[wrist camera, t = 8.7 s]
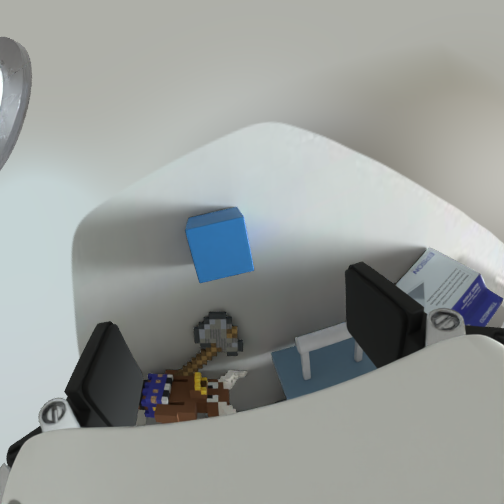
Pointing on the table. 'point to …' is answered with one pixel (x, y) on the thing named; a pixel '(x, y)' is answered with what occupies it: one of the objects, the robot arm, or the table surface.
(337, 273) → the table surface
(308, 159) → the table surface
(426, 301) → the ink box
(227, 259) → the blue cube
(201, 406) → the figurine
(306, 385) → the drawer
